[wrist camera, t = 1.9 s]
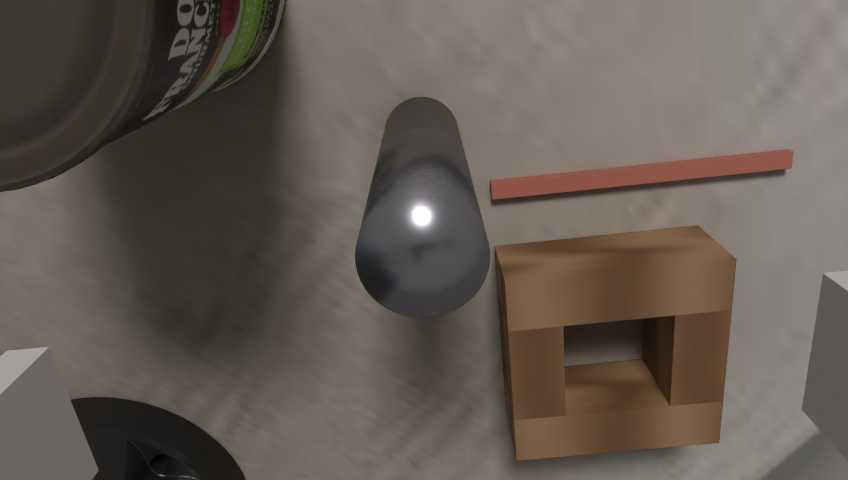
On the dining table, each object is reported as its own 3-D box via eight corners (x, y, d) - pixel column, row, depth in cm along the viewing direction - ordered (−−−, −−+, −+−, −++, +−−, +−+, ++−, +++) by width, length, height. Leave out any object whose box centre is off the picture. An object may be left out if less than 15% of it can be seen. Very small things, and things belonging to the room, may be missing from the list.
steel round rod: (389, 173, 29) (365, 323, 16) (380, 101, 28) (345, 202, 15) (461, 165, 29) (494, 311, 16) (455, 93, 28) (485, 187, 15)
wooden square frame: (506, 409, 34) (516, 460, 31) (494, 246, 31) (504, 282, 27) (686, 393, 34) (719, 442, 30) (698, 225, 30) (736, 259, 27)
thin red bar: (491, 196, 30) (492, 199, 29) (490, 181, 29) (490, 183, 29) (786, 166, 29) (791, 168, 29) (788, 149, 29) (793, 151, 28)
